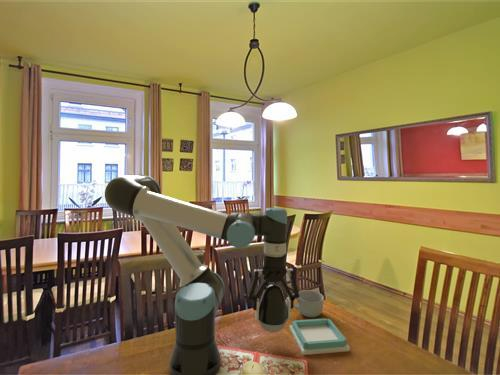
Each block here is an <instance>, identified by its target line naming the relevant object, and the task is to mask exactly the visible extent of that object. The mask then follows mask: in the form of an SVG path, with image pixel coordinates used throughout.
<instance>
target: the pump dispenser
mask: <svg viewBox="0 0 500 375" xmlns="http://www.w3.org/2000/svg"><path fill="white" fill-rule="evenodd" d="M283 292H284V291H283V290H282V288H281V287H280V286H279V285H278V284H276V283H270V284H267V285H266V287H265V288H264V290H263V291H262V294H261V297H260V299H259V321H258V323H259V325H260V326H261V328H262V329H263V330H264V331H266V332H270V333H278V332H280V331H281V330H283V329H284V328H285V325H286V323H287V322H288V320H289V319H288V315H287V306H286V302H287V300H286V298H285V294H284V293H283Z"/></svg>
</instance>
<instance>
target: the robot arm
mask: <svg viewBox="0 0 500 375" xmlns="http://www.w3.org/2000/svg"><path fill="white" fill-rule="evenodd" d="M161 192H162V189H161V186H160V184H159V183H158V181H157V180H156V179H154V178H153V177H151V176H149V175H145V174H135V175H119V176H116V177H114V178H112V179H111V180H110V181H109V182H108V183H107V185H106V187H105V189H104V200H105V202H106V203H107V205H108V207H109V208H111V209H112V210H114V212H117V213H119V214H123V215H126V216H130V217H132V218H133V219H134V221H139V222H142V224H143V226H144V227H145V228H146V230H147V231H148V233H149V235H150V236H151V237H152V239H153V240H154V242H155V244H156V245H157V247H158V248H159V249H160V251H161V252H162V254H163V256H164V257H165V258H166V260H167V262H168V263H169V265H170V266H171V267H172V269H173V270H174V272H175V274H176V275H177V277H178V278H179V288H180V289H178V291H177V293H176V295H175V301H174V318H175V319H174V325H175V343H174V345H173V346H174V347H173V350H172V353H171V356H170V358H169V374H170V375H216V374H218V372H219V370H220V368H221V361H222V360H221V354H220V350H219V348H218V345H217V341H216V336H215V334H216V326H215V325H216V315H217V312H218V309H219V308H220V305H221V303H222V301H223V299H224V294H225V283H224V281H223V279H222V277H221V276H220V275H219V274H218V273H217V272H214V271H213V270H211V269H210V267H209V266H208V265H207V264H202V263H201V261H200V260H199V258H198V257H197V255H196V254H195V252H194V251H193V249H192V248H191V246H190V245H189V243H188V242H187V240H186V238H185V237H184V236H183V234H182V233H181V231H180V230H179V229H178V228H183V229H185V230H190V231H193V232H197V233H199V234H204V235H205V236H209V237H213V238H216V239H219V240H223V241H226V242H228V243H229V244H230V245H231V246H232V247H234V248H237V249H245V248H247V247H248V246H249V245H251V243H252V242H253V240H254V239H255V237H263V239H264V240H263V253H264V254H263V262H262V263H263V264H262V268H261V269H257V268H254V269H253V276H252V279H251V282H250V286H249V289H248V292H247V299H248V300H249V301H252V309H253V311H255V312H254V313H255V314H254V315H255V316H254V318H255V321H256V322H259V304H260V299H259V298H260V296H262V294H263V292H264V288H265V287H266V286H268V285H269V283H279V282H280V283H281V284H282V286H283V288H284V290H285V292H286V293H287V295H288V296H287V297H286V306H287V315H288V319H287V320H291V314H292V313H291V310H292V309H294V307H293V304H294V303H295V300H296V299H295V298H299V290H298V286H297V282H296V278H295V275H296V274H295V270H294V269H293V267H290V268H286V265H287V263H286V262H287V256H286V254H287V237H288V234H287V232H288V212H287V210H286V209H285V208H282V207H266V208H265V210H264V213H253V212H252V213H249V212H240V211H239V212H230V214H228V213H224V212H221V211H219V210H218V211H217V210H215V209H211V208H208V207H204V206H200V205H198V204H195V203H191V202H187V201H184V200H181V199H178V198H174V197H171V196H167V195H163V194H161ZM261 274H262V275H263V278H262V280H261V282H260V283H259V285H258V287H257V284H258V281H259V277H260V276H261ZM286 274H287V276H288V277H289V280H290V284H291V287H292V292H293V293H292V292H291V289H290V288H289V286H288V284H287V283H286V280H285V278H284V277H285V275H286ZM256 287H257V288H256ZM294 305H295V304H294Z"/></svg>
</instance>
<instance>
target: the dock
mask: <svg viewBox="0 0 500 375" xmlns="http://www.w3.org/2000/svg"><path fill="white" fill-rule="evenodd" d="M288 329H289V330H290V333H291V335H292V336H293V338H294V340H295V342H296V344H297V347H298V348H299V350H300V352H301V354H302V355H303V356H306V355H318V354H319V355H320V354H331V353H344V352H350V350H351V347H350V346H349V345H348V344H347V342H348V340H347V338H346V337H345V335H344V334H343V333H342V332H341V330H339V328H338V327H337V326H336V324H334V322H333V321H332V319H330V318H312V319H310V318H308V319H298V320H297V319H296V320H294V321H293V320H292V321H291V324H290V325H289V328H288Z"/></svg>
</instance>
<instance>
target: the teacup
mask: <svg viewBox="0 0 500 375" xmlns="http://www.w3.org/2000/svg"><path fill="white" fill-rule="evenodd" d="M298 293H299V298H295V300H296V303H297V305H296V304H293V309H294V308H295V310H296V311H299V312H300V314H302V315H303V316H305V317H307V318H312V319H313V318H316V317H317V316H320V315H321V314H322V313H323V309H324V300H325V297H324V295H323V294H322V293H320V292H318V291H315V290H311V289H305V290H300V291H298Z"/></svg>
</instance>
